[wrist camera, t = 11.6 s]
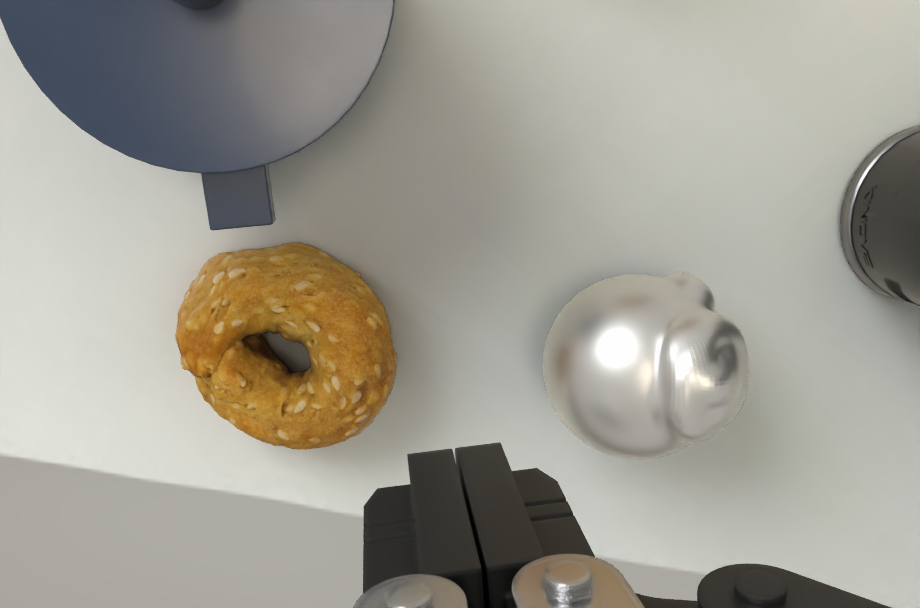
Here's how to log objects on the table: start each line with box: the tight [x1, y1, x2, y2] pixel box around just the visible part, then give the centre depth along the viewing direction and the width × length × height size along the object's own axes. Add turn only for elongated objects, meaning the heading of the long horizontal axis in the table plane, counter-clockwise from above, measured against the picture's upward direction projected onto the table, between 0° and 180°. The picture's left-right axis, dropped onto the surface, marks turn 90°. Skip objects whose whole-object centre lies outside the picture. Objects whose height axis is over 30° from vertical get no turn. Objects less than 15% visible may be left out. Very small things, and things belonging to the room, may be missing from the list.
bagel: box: [175, 243, 397, 449], centre depth 39 cm, size 10×11×5 cm
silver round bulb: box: [543, 272, 749, 459], centre depth 39 cm, size 9×9×10 cm
